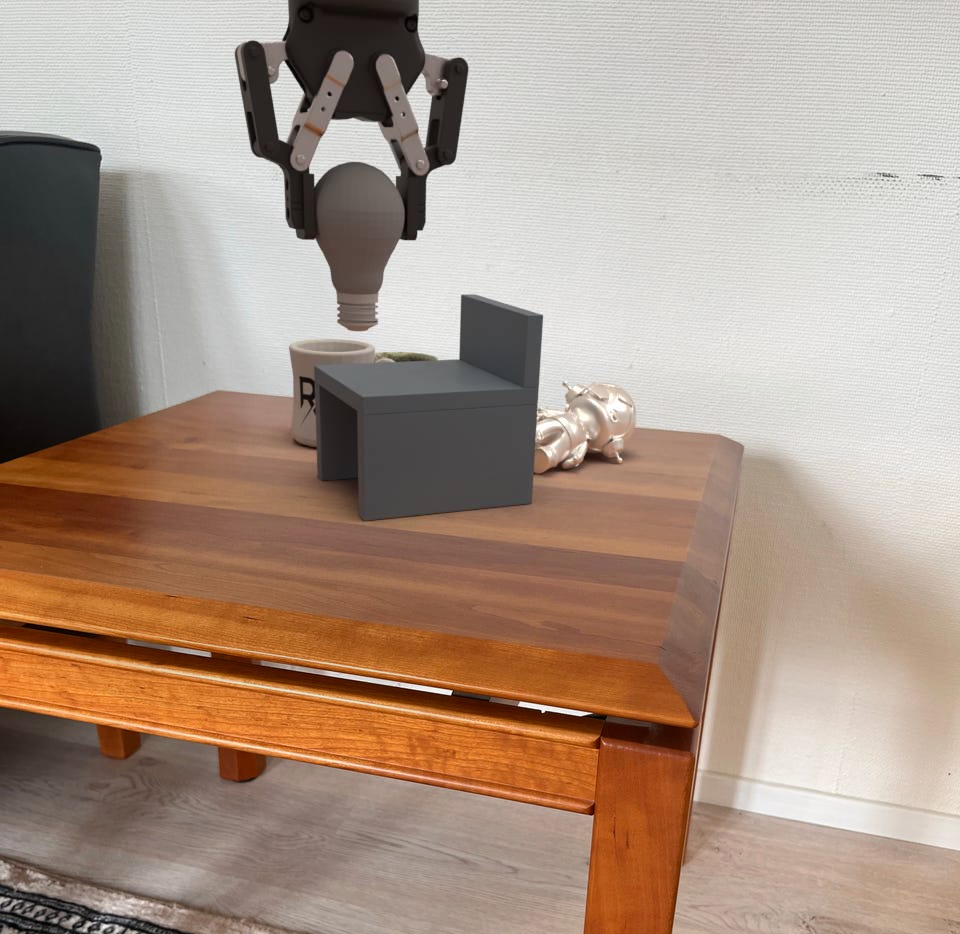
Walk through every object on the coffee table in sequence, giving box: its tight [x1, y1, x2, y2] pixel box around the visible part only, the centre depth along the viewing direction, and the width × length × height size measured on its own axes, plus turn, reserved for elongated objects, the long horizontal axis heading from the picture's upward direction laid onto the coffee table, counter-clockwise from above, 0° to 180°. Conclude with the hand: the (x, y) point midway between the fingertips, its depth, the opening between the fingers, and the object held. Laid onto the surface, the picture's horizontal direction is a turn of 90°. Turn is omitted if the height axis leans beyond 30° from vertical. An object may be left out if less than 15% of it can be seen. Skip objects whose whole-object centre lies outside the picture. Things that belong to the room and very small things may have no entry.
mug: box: [288, 338, 395, 448], centre depth 108 cm, size 12×9×10 cm
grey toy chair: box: [314, 293, 544, 522], centre depth 92 cm, size 16×14×16 cm
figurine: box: [534, 380, 637, 474], centre depth 105 cm, size 11×7×15 cm
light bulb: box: [314, 161, 405, 332], centre depth 65 cm, size 6×6×10 cm
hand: (356, 238), depth 64 cm, fingers closed on light bulb, 6 cm apart
